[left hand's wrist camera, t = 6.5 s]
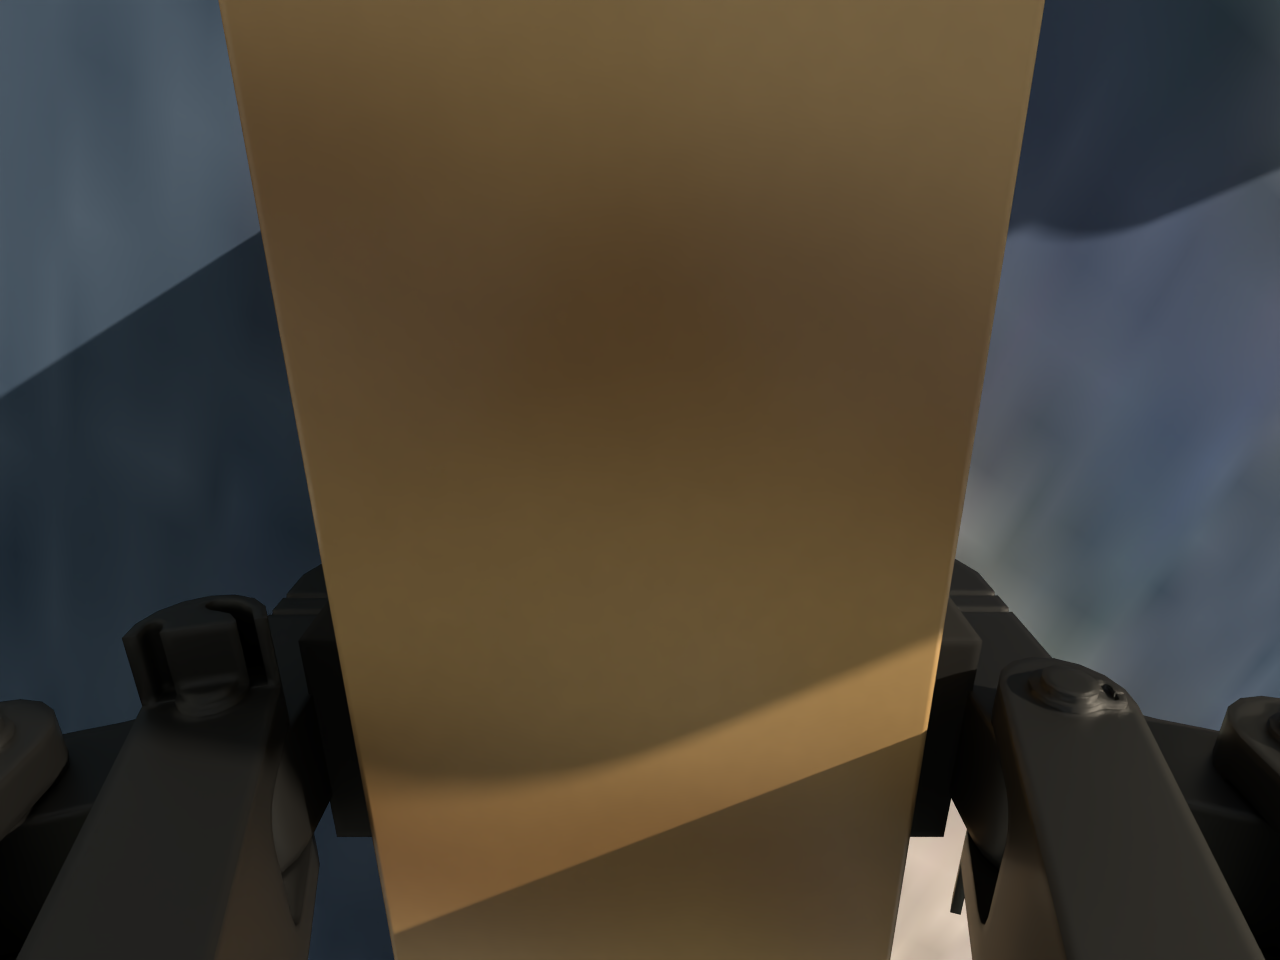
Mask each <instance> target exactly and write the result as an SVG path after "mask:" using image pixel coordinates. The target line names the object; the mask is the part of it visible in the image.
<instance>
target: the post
mask: <svg viewBox="0 0 1280 960" xmlns="http://www.w3.org/2000/svg"><path fill="white" fill-rule="evenodd" d="M1044 3H1045V0H219V6H220V11H221V17H222V22H223V28H224V33H225V38H226V44H227V49H228V55H229V60H230V66H231V71H232V77H233V82H234V87H235V93H236V98H237V104H238V109H239V115H240V120H241V126H242V131H243V136H244V142H245V147H246V153H247V158H248V164H249V169H250V175H251V180H252V185H253V191H254V196H255V202H256V207H257V213H258V218H259V224H260V229H261V234H262V240H263V245H264V251H265V256H266V262H267V267H268V273H269V278H270V283H271V289H272V294H273V300H274V305H275V311H276V316H277V322H278V327H279V332H280V338H281V343H282V349H283V354H284V360H285V365H286V371H287V376H288V381H289V387H290V392H291V398H292V403H293V409H294V414H295V420H296V425H297V430H298V436H299V441H300V447H301V452H302V458H303V463H304V469H305V474H306V479H307V485H308V490H309V496H310V501H311V507H312V512H313V518H314V523H315V528H316V534H317V539H318V545H319V550H320V556H321V561H322V567H323V572H324V577H325V583H326V588H327V594H328V599H329V605H330V610H331V616H332V621H333V626H334V632H335V637H336V643H337V648H338V654H339V659H340V665H341V670H342V675H343V681H344V686H345V692H346V697H347V703H348V708H349V714H350V719H351V724H352V730H353V735H354V741H355V746H356V752H357V757H358V763H359V768H360V773H361V779H362V784H363V790H364V795H365V801H366V806H367V812H368V817H369V822H370V828H371V833H372V839H373V844H374V850H375V855H376V861H377V866H378V871H379V877H380V882H381V888H382V893H383V899H384V904H385V910H386V915H387V920H388V926H389V931H390V937H391V942H392V948H393V953H394V959H395V960H890V957H891V951H892V945H893V938H894V932H895V926H896V920H897V914H898V907H899V901H900V895H901V889H902V883H903V876H904V870H905V864H906V858H907V852H908V845H909V839H910V833H911V827H912V821H913V815H914V808H915V802H916V796H917V790H918V784H919V777H920V771H921V765H922V759H923V753H924V746H925V740H926V734H927V728H928V722H929V715H930V709H931V703H932V697H933V691H934V684H935V678H936V672H937V666H938V660H939V654H940V647H941V641H942V635H943V629H944V623H945V616H946V610H947V604H948V598H949V592H950V585H951V579H952V573H953V567H954V561H955V554H956V548H957V542H958V536H959V530H960V523H961V517H962V511H963V505H964V499H965V493H966V486H967V480H968V474H969V468H970V462H971V455H972V449H973V443H974V437H975V431H976V424H977V418H978V412H979V406H980V400H981V393H982V387H983V381H984V375H985V369H986V362H987V356H988V350H989V344H990V338H991V331H992V325H993V319H994V313H995V307H996V301H997V294H998V288H999V282H1000V276H1001V270H1002V263H1003V257H1004V251H1005V245H1006V239H1007V232H1008V226H1009V220H1010V214H1011V208H1012V201H1013V195H1014V189H1015V183H1016V177H1017V170H1018V164H1019V158H1020V152H1021V146H1022V140H1023V133H1024V127H1025V121H1026V115H1027V109H1028V102H1029V96H1030V90H1031V84H1032V78H1033V71H1034V65H1035V59H1036V53H1037V47H1038V40H1039V34H1040V28H1041V22H1042V16H1043V9H1044Z"/></svg>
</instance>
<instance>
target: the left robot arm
mask: <svg viewBox="0 0 1280 960" xmlns="http://www.w3.org/2000/svg"><path fill="white" fill-rule="evenodd" d="M122 640H123V643H124V647H125V650H126V653H127V657H128V660H129V663H130V667H131V670H132V673H133V677H134V680H135V683H136V687H137V690H138V693H139V697H140V700H141V703H142V708H141V710H140V712H139V714H138V716H137V718H136V719H134V720H131V721H127V722H122V723H117V724H112V725H107V726H102V727H97V728H92V729H87V730H82V731H77V732H72V733H67V734H62V732H61V729H60V726H59V724H58V721H57V718H56V715H55V712H54V710H53V709H52V708H50V707H49V706H47V705H46V704H44V703H43V702H41V701H31V700H22V699H19V700H11V701H4V702H0V960H308V954H309V946H310V938H311V930H312V921H313V913H314V905H315V897H316V889H317V881H318V872H319V857H318V851H317V845H316V841H315V836H314V831H315V829H316V827H317V825H318V823H319V821H320V819H321V817H322V815H323V813H324V811H325V809H326V807H327V805H328V803H329V801H330V804H331V809H332V814H333V819H334V824H335V829H336V834H337V837H372V833H371V828H370V822H369V817H368V812H367V806H366V801H365V795H364V790H363V784H362V779H361V773H360V768H359V763H358V757H357V752H356V746H355V741H354V735H353V730H352V724H351V719H350V714H349V708H348V703H347V697H346V692H345V686H344V681H343V675H342V670H341V665H340V659H339V654H338V648H337V643H336V637H335V632H334V626H333V621H332V616H331V610H330V605H329V599H328V594H327V588H326V583H325V577H324V572H323V567H322V564H321V565H319V566H317V567H316V568H314V569H312V570H311V571H309V572H307V573H306V574H304V575H303V576H302V577H301V578H300V579H299V580H298V582H297V583H296V584H295V585H294V586H293V587H292V589H291V590H290V591H289V592H288V593H287V597H286V598H283V599H282V600H281V601H280V603H279V604H278V605H277V606H276V607H275V608H274V609H273V614H272V615H268V616H267V611H266V606H264V605H263V604H262V603H260V602H259V601H257V600H256V599H255V598H250V597H245V596H239V595H218V596H208V597H203V598H198V599H193V600H189V601H184V602H181V603H179V604H176V605H173V606H170V607H168V608H165V609H162V610H160V611H157V612H155V613H154V614H152V615H150V616H149V617H147V618H145V619H144V620H142V621H140V622H138V623H137V624H135V625H134V626H133V627H132V628H131V629H130V630H129V631H128V632H127V633H126V634H125V636H124V637H123V638H122ZM951 798H952V800H953V802H954V804H955V806H956V808H957V810H958V812H959V814H960V816H961V818H962V820H963V822H964V824H965V826H966V828H967V831H966V836H965V841H964V845H963V850H962V855H961V859H960V864H959V869H958V873H957V878H956V883H955V888H954V892H953V897H952V904H951V910H950V912H951V913H955V914H960V915H961V910H962V906H963V901H964V898H965V903H966V911H967V920H968V928H969V936H970V944H971V952H972V960H1280V698H1273V697H1266V696H1257V697H1248V698H1240V699H1238V700H1237V701H1236V702H1234V703H1233V704H1231V705H1230V706H1228V709H1227V712H1226V715H1225V717H1224V720H1223V723H1222V726H1221V729H1220V731H1216V730H1211V729H1206V728H1201V727H1196V726H1191V725H1185V724H1180V723H1175V722H1170V721H1165V720H1160V719H1155V718H1152V717H1148V716H1144V715H1143V714H1142V712H1141V710H1140V708H1139V706H1138V705H1137V703H1136V702H1135V701H1134V700H1133V699H1132V697H1131V696H1130V695H1129V694H1128V692H1127V691H1126V690H1125V689H1124V688H1122V687H1121V686H1119V685H1118V684H1116V683H1115V682H1114V681H1112V680H1111V679H1109V678H1108V677H1106V676H1105V675H1103V674H1100V673H1098V672H1096V671H1093V670H1091V669H1089V668H1086V667H1084V666H1082V665H1079V664H1075V663H1071V662H1067V661H1063V660H1059V659H1055V658H1052V657H1051V656H1050V655H1049V654H1048V653H1047V652H1046V650H1045V649H1044V648H1043V647H1042V646H1041V645H1040V643H1039V642H1038V641H1037V640H1036V639H1035V638H1034V637H1033V635H1032V634H1031V633H1030V632H1029V631H1028V630H1027V628H1026V627H1025V626H1024V625H1023V624H1022V623H1021V622H1020V620H1019V619H1018V618H1017V617H1016V616H1015V615H1014V613H1013V612H1009V610H1008V607H1007V605H1006V604H1005V603H1004V602H1003V601H1002V600H1001V599H1000V597H999V596H998V595H995V594H994V590H993V589H992V588H991V587H990V586H989V585H988V584H987V582H986V581H985V580H984V579H983V578H982V577H981V575H980V574H979V573H978V572H976V571H975V570H973V569H971V568H970V567H968V566H966V565H965V564H963V563H961V562H959V561H958V560H956V559H955V561H954V567H953V573H952V579H951V585H950V592H949V598H948V604H947V610H946V616H945V623H944V629H943V635H942V641H941V647H940V654H939V660H938V666H937V672H936V678H935V684H934V691H933V697H932V703H931V709H930V715H929V722H928V728H927V734H926V740H925V746H924V753H923V759H922V765H921V771H920V777H919V784H918V790H917V796H916V802H915V808H914V815H913V821H912V827H911V833H910V837H944V832H945V827H946V822H947V817H948V812H949V807H950V802H951Z"/></svg>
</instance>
